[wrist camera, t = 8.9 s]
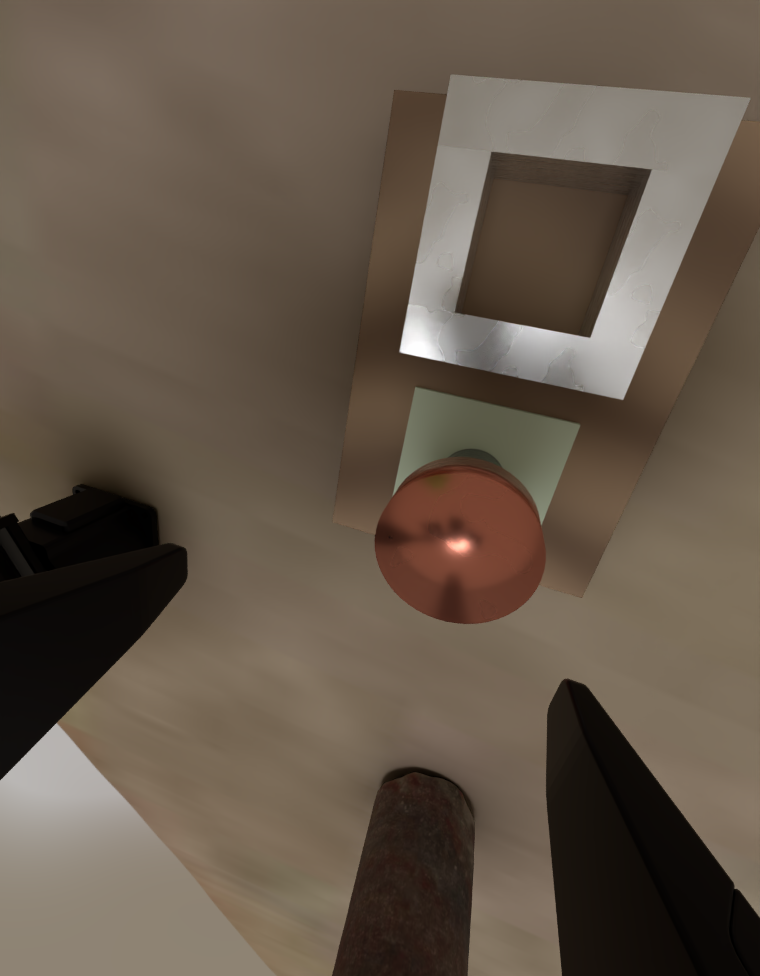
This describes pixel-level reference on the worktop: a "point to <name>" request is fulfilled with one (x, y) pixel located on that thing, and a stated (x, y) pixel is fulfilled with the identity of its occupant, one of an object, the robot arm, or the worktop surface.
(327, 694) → the worktop surface
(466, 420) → the rubber pad
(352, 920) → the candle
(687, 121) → the block
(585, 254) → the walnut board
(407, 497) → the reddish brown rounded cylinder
